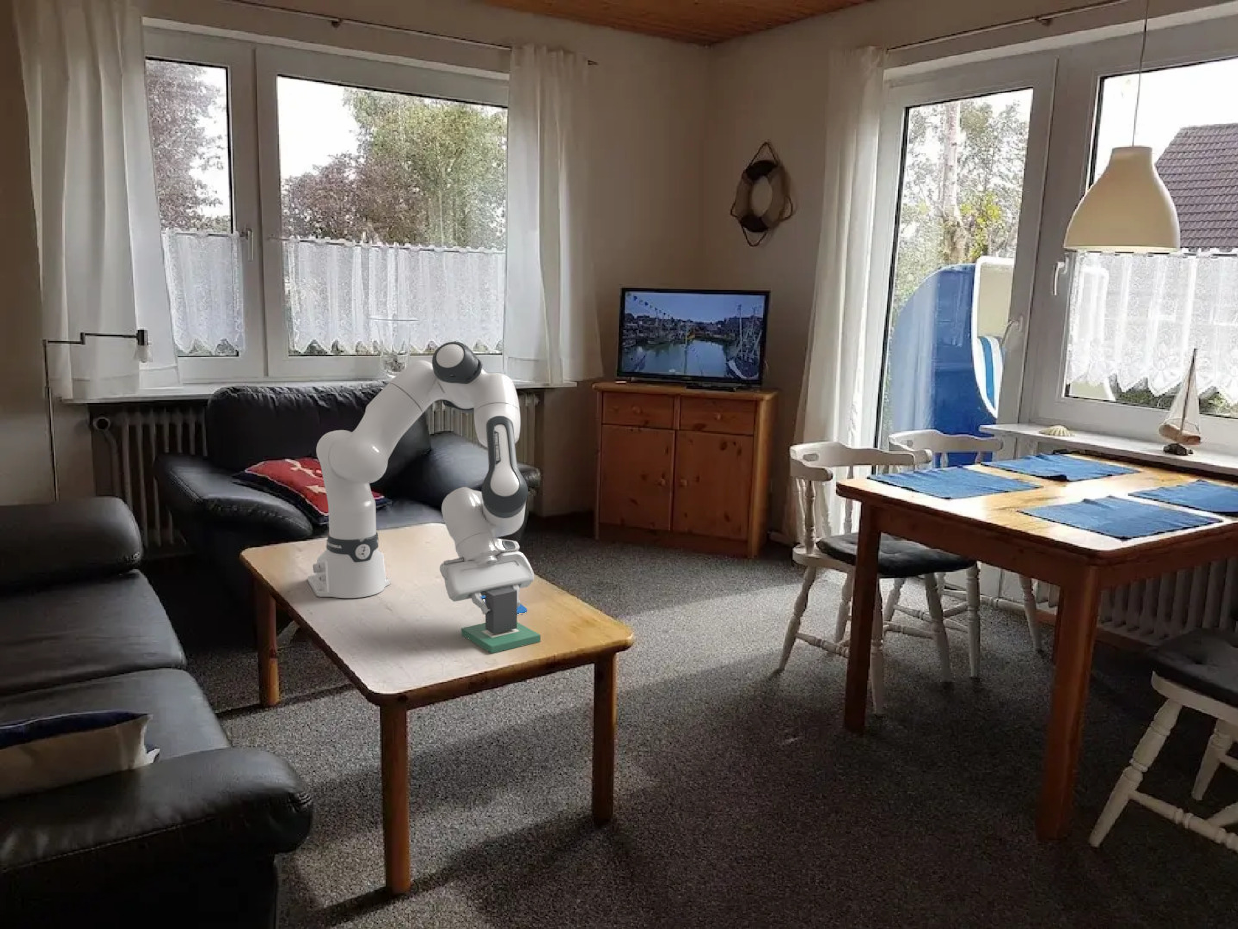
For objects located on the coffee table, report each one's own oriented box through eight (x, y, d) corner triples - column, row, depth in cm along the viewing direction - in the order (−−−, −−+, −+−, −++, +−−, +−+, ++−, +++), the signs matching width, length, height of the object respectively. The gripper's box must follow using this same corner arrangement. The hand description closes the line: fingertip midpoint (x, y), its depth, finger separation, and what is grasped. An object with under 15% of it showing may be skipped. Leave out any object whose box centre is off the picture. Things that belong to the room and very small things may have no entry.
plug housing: (485, 629, 206) (485, 591, 205) (508, 623, 210) (508, 586, 208) (493, 633, 204) (493, 595, 202) (516, 628, 207) (517, 590, 206)
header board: (461, 634, 209) (461, 615, 208) (508, 623, 216) (508, 605, 215) (491, 653, 199) (491, 633, 198) (540, 641, 206) (540, 622, 205)
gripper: (441, 554, 203) (464, 611, 197) (523, 540, 215) (547, 594, 210) (432, 569, 207) (454, 625, 201) (513, 555, 220) (536, 607, 214)
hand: (502, 609), depth 206 cm, fingers closed on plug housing, 6 cm apart
